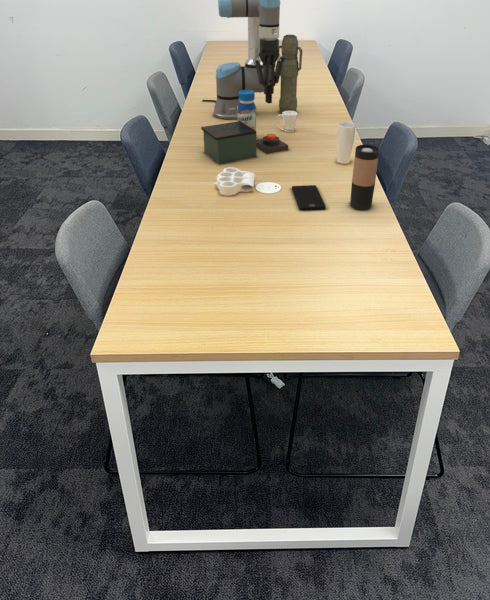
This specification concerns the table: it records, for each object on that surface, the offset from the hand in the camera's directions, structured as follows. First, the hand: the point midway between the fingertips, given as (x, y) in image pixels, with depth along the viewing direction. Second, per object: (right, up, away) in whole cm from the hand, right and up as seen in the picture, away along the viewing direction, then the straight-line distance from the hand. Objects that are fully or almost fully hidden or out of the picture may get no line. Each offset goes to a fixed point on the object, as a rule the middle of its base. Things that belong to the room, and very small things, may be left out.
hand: (268, 102), depth 221 cm
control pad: (+1, -15, +12) cm, 19 cm away
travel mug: (+31, -48, -34) cm, 66 cm away
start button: (+1, -12, +9) cm, 15 cm away
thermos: (+10, +14, +53) cm, 56 cm away
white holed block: (-13, -38, -21) cm, 45 cm away
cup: (+8, -2, +30) cm, 31 cm away
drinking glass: (+30, -24, -1) cm, 39 cm away
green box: (-16, -20, +4) cm, 26 cm away
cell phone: (+14, -44, -30) cm, 55 cm away
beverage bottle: (-9, -9, +20) cm, 24 cm away
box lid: (-16, -12, -2) cm, 20 cm away
